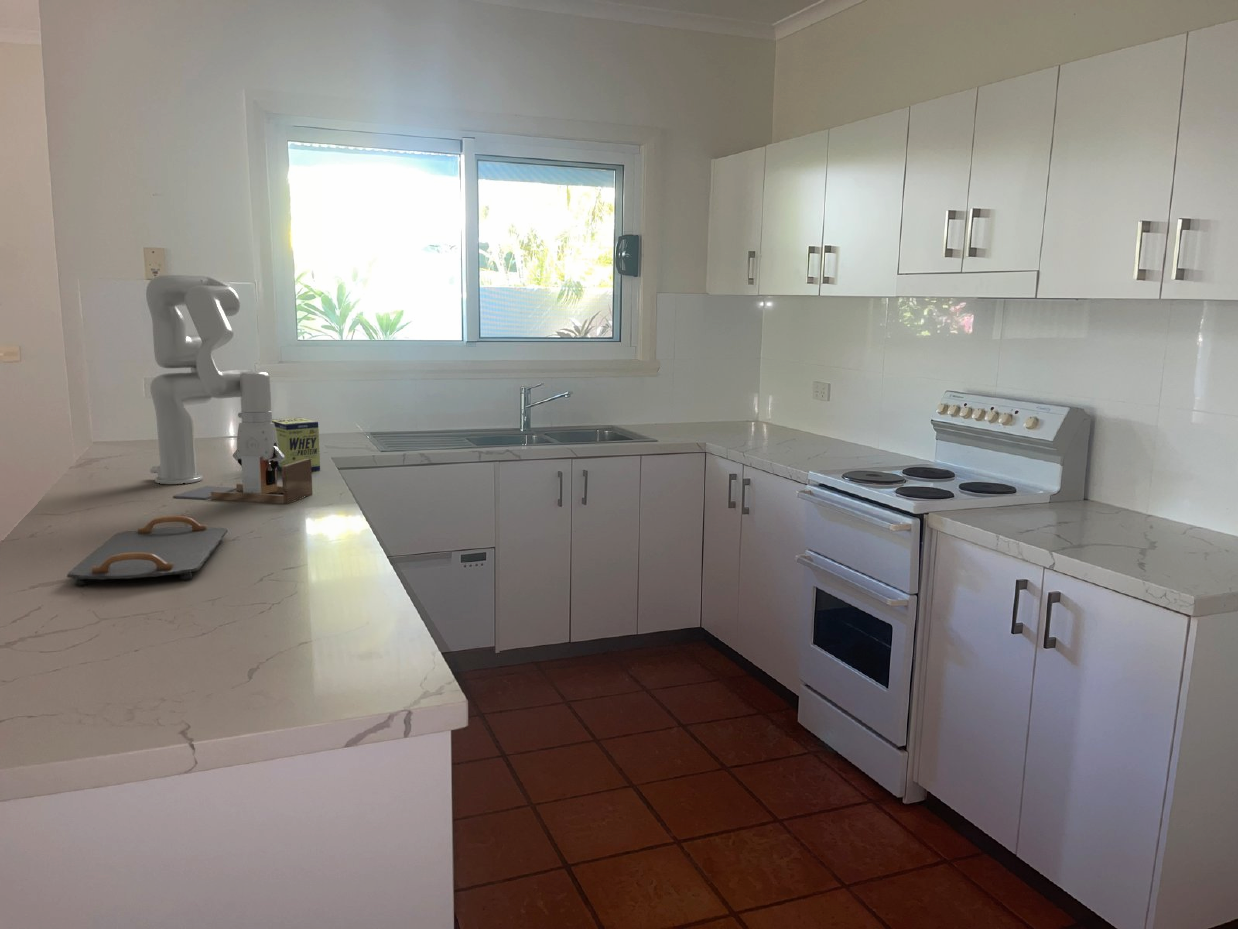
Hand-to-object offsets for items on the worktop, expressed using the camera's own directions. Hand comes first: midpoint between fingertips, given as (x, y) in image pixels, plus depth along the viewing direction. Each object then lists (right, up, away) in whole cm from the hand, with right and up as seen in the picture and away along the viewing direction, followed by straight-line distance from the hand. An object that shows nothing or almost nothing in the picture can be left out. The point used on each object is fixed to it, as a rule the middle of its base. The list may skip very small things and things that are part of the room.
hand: (260, 483), depth 248 cm
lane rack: (+1, -4, 0) cm, 4 cm away
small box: (0, -3, 0) cm, 3 cm away
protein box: (-6, +3, +43) cm, 44 cm away
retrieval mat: (-16, -3, +4) cm, 17 cm away
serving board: (+3, -15, -62) cm, 63 cm away
